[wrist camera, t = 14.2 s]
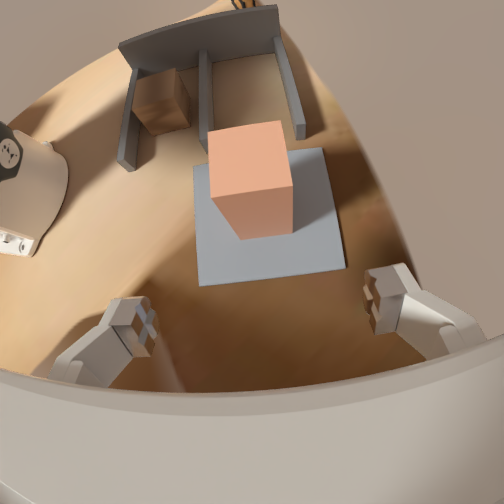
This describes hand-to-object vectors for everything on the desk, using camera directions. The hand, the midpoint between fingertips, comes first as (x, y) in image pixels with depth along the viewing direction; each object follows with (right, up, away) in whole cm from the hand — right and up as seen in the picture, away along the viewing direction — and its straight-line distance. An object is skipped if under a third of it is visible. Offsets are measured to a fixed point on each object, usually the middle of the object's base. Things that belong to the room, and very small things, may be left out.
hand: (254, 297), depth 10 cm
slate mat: (+1, +6, +18) cm, 19 cm away
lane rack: (-5, +20, +22) cm, 31 cm away
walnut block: (-10, +19, +23) cm, 31 cm away
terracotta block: (+1, +6, +18) cm, 19 cm away
